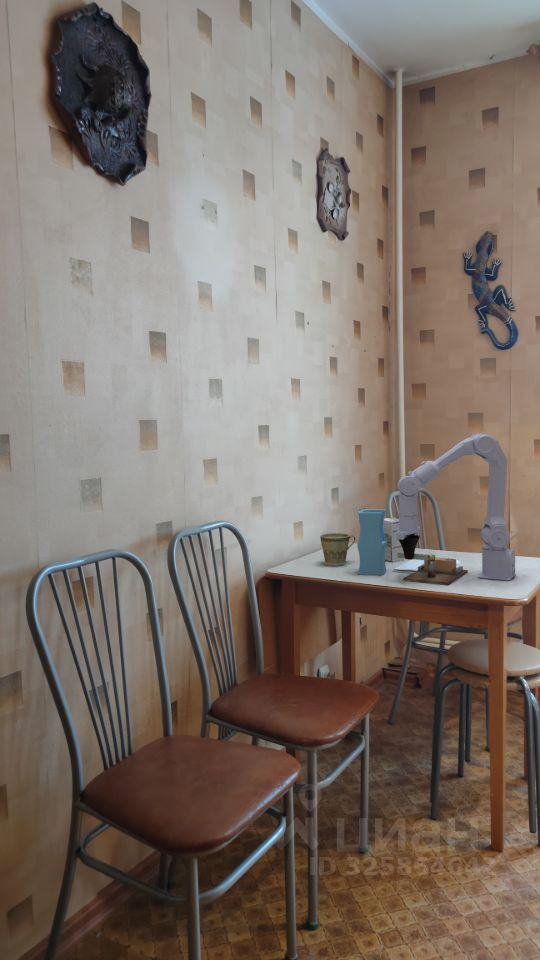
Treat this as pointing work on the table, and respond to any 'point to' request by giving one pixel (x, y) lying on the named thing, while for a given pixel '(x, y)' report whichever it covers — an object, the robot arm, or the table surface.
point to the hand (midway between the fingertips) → (409, 559)
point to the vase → (372, 542)
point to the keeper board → (433, 580)
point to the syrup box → (392, 540)
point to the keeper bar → (418, 556)
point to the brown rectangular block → (443, 564)
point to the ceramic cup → (335, 548)
